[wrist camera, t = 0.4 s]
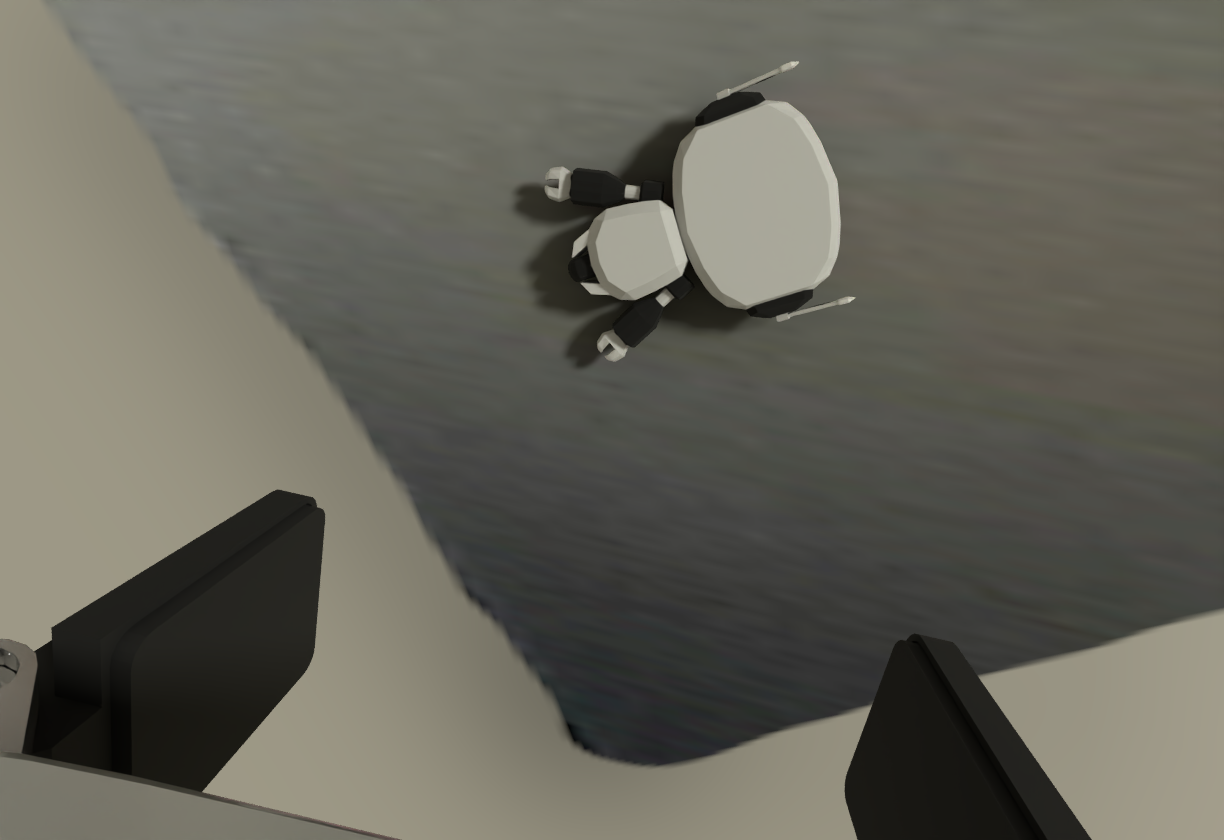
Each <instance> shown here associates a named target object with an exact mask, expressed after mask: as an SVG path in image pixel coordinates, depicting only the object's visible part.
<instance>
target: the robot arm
mask: <svg viewBox="0 0 1224 840" xmlns="http://www.w3.org/2000/svg"><path fill="white" fill-rule="evenodd" d="M324 525H325V513H324V510H323V509H321V508H317V505H316V501H315V499H314V498H313V497H309V496H304V495H300V494H296V493H291V492H287V491H282V490H275V491H273V492H271V493H269V494H268V495H266V496H264V497H263V498H261V499H260V500H258V501H256V502H255V503H253V504H252V505H250V506H248V507H247V508H245V509H243V510H242V511H240V512H239V513H237V514H236V515H234V516H232V517H230V518H229V519H227V520H226V521H224V522H223V523H221V524H219V525H218V526H216V527H214V528H213V529H211V530H209V531H208V532H206V533H205V534H203V535H201V536H200V537H198V538H196V539H195V540H193V541H192V542H190V543H188V544H187V545H185V546H184V547H182V548H180V549H179V550H177V551H175V552H174V553H172V554H170V555H169V556H167V557H166V558H164V559H162V560H161V561H159V562H157V563H156V564H154V565H153V566H151V567H149V568H148V569H146V570H144V571H143V572H141V573H140V574H138V575H136V576H135V577H133V578H132V579H130V580H128V581H127V582H125V583H123V584H122V585H121V586H119V587H117V588H115V589H114V590H112V591H110V592H109V593H107V594H106V595H104V596H102V597H101V598H99V599H98V600H96V601H94V602H93V603H91V604H89V605H88V606H86V607H85V608H83V609H81V610H80V611H78V612H76V613H75V614H73V615H72V616H70V617H68V618H67V619H65V620H64V621H62V622H60V623H59V624H57V625H55V626H54V627H52V640H51V641H50V642H48V643H47V644H45V645H44V646H42V647H40V648H39V649H37V650H36V651H32V650H31V649H30V648H29V647H28V646H27V645H25V644H22V643H19V642H16V641H13V640H9V639H0V840H400V839H396V838H391V837H387V836H383V835H379V834H375V833H371V832H367V831H363V830H358V829H354V828H350V827H346V826H342V825H337V824H333V823H329V822H325V821H321V820H316V819H312V818H308V817H303V816H300V815H296V814H291V813H287V812H283V811H279V810H274V809H270V808H266V807H262V806H258V805H253V804H249V803H245V802H241V801H237V800H233V799H228V798H224V797H220V796H216V795H211V794H207V793H203V792H202V791H203V790H204V789H205V788H206V787H207V785H208V784H209V783H210V782H211V781H212V780H213V778H214V777H215V776H216V775H217V774H218V772H219V771H220V770H221V769H222V768H223V767H224V766H225V764H226V763H227V762H228V761H229V760H230V759H231V758H232V756H233V755H234V754H235V753H236V752H237V751H238V749H239V748H240V747H241V746H242V745H243V744H244V743H245V741H246V740H247V739H248V738H249V737H250V736H251V734H252V733H253V732H254V731H255V730H256V729H257V727H258V726H259V725H260V724H261V723H262V722H263V721H264V719H265V718H266V717H267V716H268V715H269V714H270V712H271V711H272V710H273V709H274V707H276V705H277V704H278V703H279V702H280V701H281V700H282V698H283V697H284V696H285V695H286V694H287V693H288V692H289V690H290V689H291V688H292V687H293V686H294V685H295V683H296V682H297V681H298V680H299V679H300V678H301V676H302V675H303V674H304V673H305V671H306V670H307V668H308V666H309V664H310V662H311V660H312V657H313V654H314V648H315V636H316V624H317V612H318V599H319V587H320V575H321V563H322V550H323V538H324ZM845 798H846V803H847V806H848V810H849V813H850V816H851V820H852V822H853V826H854V829H855V832H856V836H857V839H858V840H1092V839H1091V838H1090V837H1089V835H1088V834H1087V832H1086V831H1085V829H1084V828H1083V827H1082V825H1081V824H1080V822H1079V821H1078V819H1077V818H1076V817H1075V815H1074V814H1073V812H1072V811H1071V809H1070V808H1069V807H1068V805H1067V804H1066V802H1065V801H1064V800H1063V798H1062V797H1061V795H1060V794H1059V792H1058V791H1057V789H1056V788H1055V786H1054V785H1053V784H1052V782H1051V781H1050V779H1049V778H1048V777H1047V775H1046V774H1045V772H1044V771H1043V769H1042V768H1041V766H1040V765H1039V763H1038V762H1037V761H1036V759H1035V758H1034V756H1033V755H1032V753H1031V752H1030V751H1029V749H1028V748H1027V747H1026V745H1025V743H1024V742H1023V741H1022V739H1021V738H1020V736H1019V735H1018V733H1017V732H1016V730H1015V729H1014V728H1013V727H1012V725H1011V723H1010V722H1009V720H1008V719H1007V718H1006V716H1005V715H1004V713H1003V712H1002V711H1001V709H1000V708H999V706H998V705H997V703H996V702H995V700H994V699H993V698H992V696H991V695H990V693H989V692H988V690H987V689H986V687H985V686H984V685H983V683H982V682H981V680H980V679H979V677H978V676H977V675H976V673H975V672H974V670H973V669H972V667H971V666H970V665H969V663H968V662H967V660H966V659H965V657H964V656H963V654H962V653H961V652H960V650H959V649H958V647H957V646H956V645H955V644H954V643H953V642H950V641H945V640H941V639H937V638H932V637H928V636H923V635H919V634H913V635H911V636H910V637H909V638H908V639H907V641H904V640H900V641H898V642H897V643H896V644H895V646H894V648H893V651H892V653H891V656H890V659H889V661H888V664H887V667H886V669H885V672H884V675H883V678H882V680H881V683H880V686H879V688H878V691H877V694H876V696H875V699H874V702H873V705H872V707H871V710H870V713H869V715H868V718H867V721H866V724H865V726H864V729H863V731H862V734H861V737H860V740H859V742H858V745H857V748H856V750H855V753H854V756H853V759H852V761H851V764H850V767H849V769H848V772H847V775H846V780H845Z"/></svg>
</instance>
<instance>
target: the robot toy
mask: <svg viewBox="0 0 1224 840" xmlns="http://www.w3.org/2000/svg"><path fill="white" fill-rule="evenodd" d="M798 63H799V62H789V63H787V64H785V65H782V66H781V67H780V68H778V69H776V70H774V71H771V72H769V73H767V74H765V75H762V76H760V77H758V78H756V79H753V80H751V81H749V82H747V83H744V84H742V85H740V86H738V87H735V88H733V89H731V90H730V89H728V88H727V89H725V90H723V91H721V92H718V93H716V94H717V98H718V100H716V101H714V102H712V103H710V104H709V105H708V106H707V107H706V108H705V109H704V110H703V111H702V112H701V113H700V114H699V115H698V116H697V117H696V120H695V128H694V129H693V130H692V131H691V132H690V133H689V134H688V135H687V136H686V137H685V138H684V139H683V140H682V141H681V142H680V144H679V148H678V151H677V154H676V157H675V160H674V165H673V201H674V208H675V210H674V209H673V208H671V207H670V206H668V205H667V204H666V203H664V202H663V193H664V182H659V181H650V180H645V181H644V182H643V183H642V184H641V186H634V185H626V184H625V183H624V182H622V181H621V180H620V179H618V178H617V177H615V176H614V175H612V174H611V173H609V172H607V171H600V170H591V169H582V168H576V169H575V170H574V171H573V173H571V172H570V171H569V170H567V169H566V168H564V167H556V168H551V169H550V170H549V171H548V173H547V174H546V180H559V189H557V188H551V187H549V186H546V185H545V192H546V194H547V196H548V198H550V199H552V200H555V201H558V202H561V201H564V200H566V199H569V198H571V201H572V202H573V204H578V205H586V206H595V207H606V206H609V205H612V204H614V203H617V202H619V201H622V200H624V199H630V200H639V202H636V203H630V204H625V205H621V206H617V207H613V208H609V209H606V210H605V211H603V212H602V213H601V214H600V215H598V216H597V217H596V218H595V219H594V220H593V222H592V224H591V226H590V228H589V230H587V231H586V232H585V233H584V234H583V235H582V236H580V237H579V238H578V239H577V240H576V241H575V242H574V246H573V254H572V258H573V257H579V256H581V255H583V254H584V253H585V252H586V251H587V250H588V251H589V254H588V255H585V256H582V257H579V258H576V259H573V260H571V261H570V262H569V265H568V270H569V274H570V276H571V278H572V279H573V280H574V281H576V282H580V281H583V280H586V279H589V278H592V277H595V276H596V277H597V279H598V281H597V280H587V281H585V282H582V283H581V284H582V285H583V286H584V287H585V288H586V289H587V290H588V291H589V292H590V293H591V294H598V295H612V296H614V297H616V298H618V299H620V300H636V299H639V298H641V297H643V296H645V295H648V294H650V293H652V292H654V291H656V290H658V289H660V288H662V287H664V286H665V289H664V290H663V291H661V292H660V293H659V294H658V295H657V296H656V297H654V298H650V299H646V300H643V301H640V302H637V303H634V304H633V305H632V306H630V307H629V308H628V309H627V310H626V311H625V312H624V313H623V314H622V315H621V316H620V317H619V318H618V319H617V320H616V321H615V322H613V329H614V330H610V331H607V332H603V333H602V335H601V336H600V338H599V339H598V341H597V348H598V350H599V351H600V352H603V350H604V348H605V347H606V346H607V345H608V344H609V343H610V344H611V345H612V346H613V347H614V348H615V349H614V350H613V351H612V352H610V353H609V354H607V355H605V356H604V357H605V358H606V359H607V360H610V361H617V360H619V359H621V358H622V357H624V356H625V354H626V351H627V349H628V346H630V347H636V346H637V345H638V344H639V343H640V342H641V341H642V340H643V339H644V338H645V337H647V336H648V335H649V334H650V333H651V332H652V331H653V330H654V329H655V328H656V327H657V324H658V322H659V319H660V317H661V315H662V312H663V309H664V306H666V305H667V304H668V303H669V302H670V301H671V300H672V299H673V298H676V299H682V298H683V297H685V296H686V295H687V294H688V293H689V292H690V291H691V290H692V289H693V288H694V285H693V283H692V282H691V281H690V280H689V279H688V278H687V277H686V275H685V274H684V272H685V269H686V267H687V264H688V261H689V260H690V262H691V264H692V266H693V268H694V270H695V272H696V274H697V275H698V277H699V278H700V280H701V281H702V283H703V285H704V286H705V288H706V289H707V290H708V291H709V292H710V294H711V295H712V296H713V297H715V298H716V299H717V300H719V301H720V302H721V303H723V304H724V305H725V306H727V307H731V308H738V309H746V310H747V312H748V313H749V314H750V316H753V317H762V318H772V317H775V316H776V318H777V322H779V321H783V320H787V319H789V318H790V317H791V316H795V315H799V314H803V313H807V312H810V311H814V310H818V309H822V308H826V307H830V306H834V305H838V304H839V305H841V304H845V303H849V302H850V301H852V300H853V299H855V298H856V297H849V296H848V297H844V298H840V299H838V300H836V301H832V302H828V303H824V304H820V305H817V306H813V307H809V308H805V309H801V310H797V309H798V308H800V307H801V306H802V305H804V304H805V303H806V302H807V301H809V300H810V299H811V298H812V296H813V289H814V288H815V287H816V286H817V285H819V284H820V283H821V282H822V281H823V280H825V279H826V278H827V277H828V276H829V275H830V273H831V270H832V268H833V265H834V263H835V261H836V258H837V255H838V250H839V243H840V224H841V223H840V210H839V196H838V182H837V179H836V177H835V174H834V172H833V170H832V167H831V165H830V162H829V160H828V158H827V155H826V153H825V150H824V148H823V146H822V143H821V141H820V140H819V138H818V136H817V135H816V133H815V131H814V129H813V128H812V126H811V124H810V123H809V122H808V120H807V119H806V118H805V117H804V115H803V114H801V113H800V112H799V111H798V110H796V109H795V108H794V107H792V106H791V105H790V104H789V103H787V102H780V101H768V100H765V99H764V97H763V96H762V94H761V93H758V92H739V91H741V90H743V89H745V88H748V87H750V86H752V85H754V84H757V83H759V82H761V81H764V80H766V79H768V78H770V77H773V76H775V75H777V74H780V73H782V72H783V73H784V72H787V71H789V70H791V69H793V68H794V67H795V66H796V65H797V64H798ZM736 92H737V93H736ZM734 93H735V94H734ZM795 310H797V311H795ZM792 311H794V312H792ZM789 312H790V313H789Z"/></svg>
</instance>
